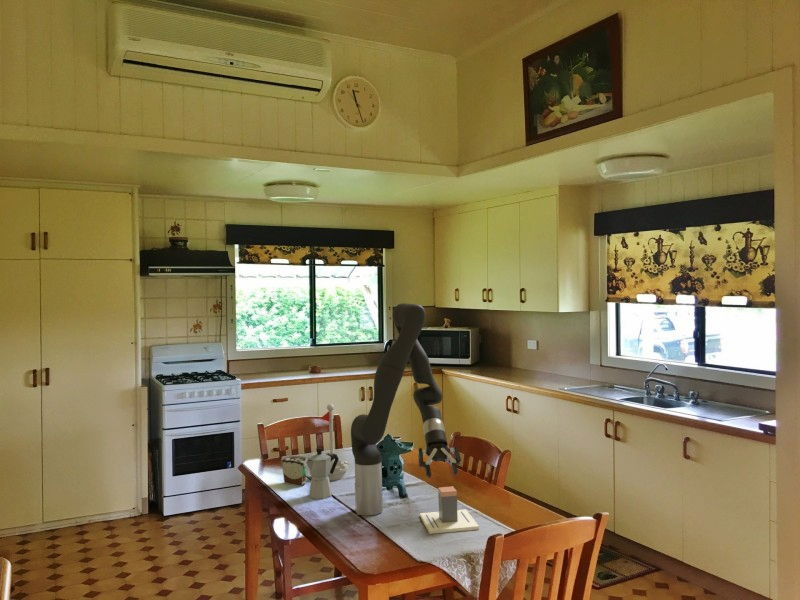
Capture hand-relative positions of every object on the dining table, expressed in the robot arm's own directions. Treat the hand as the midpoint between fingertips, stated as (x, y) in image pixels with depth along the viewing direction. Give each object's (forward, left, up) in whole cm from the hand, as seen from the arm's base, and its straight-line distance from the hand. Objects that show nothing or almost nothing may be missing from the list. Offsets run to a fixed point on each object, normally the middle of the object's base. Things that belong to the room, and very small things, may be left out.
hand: (442, 475), depth 224 cm
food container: (-48, +51, -14) cm, 71 cm away
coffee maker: (-39, +33, -14) cm, 53 cm away
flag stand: (-34, +56, -14) cm, 67 cm away
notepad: (0, -6, -14) cm, 15 cm away
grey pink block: (0, -6, -13) cm, 14 cm away
